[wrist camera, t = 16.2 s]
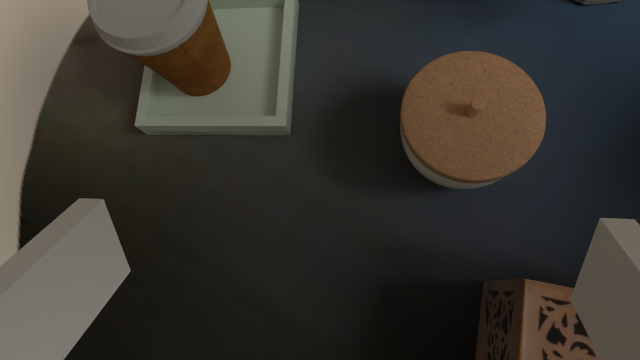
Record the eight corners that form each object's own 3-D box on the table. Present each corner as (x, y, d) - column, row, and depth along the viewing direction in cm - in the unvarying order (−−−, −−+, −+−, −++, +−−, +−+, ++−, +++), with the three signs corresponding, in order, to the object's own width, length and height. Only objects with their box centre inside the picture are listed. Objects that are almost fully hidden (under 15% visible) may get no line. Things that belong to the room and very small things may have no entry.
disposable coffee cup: (156, 37, 44) (82, -51, 33) (242, 21, 44) (197, -75, 32) (159, 118, 42) (79, 54, 30) (250, 102, 41) (204, 31, 30)
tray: (299, 4, 45) (295, -12, 42) (290, 135, 41) (285, 125, 38) (167, 9, 46) (156, -7, 44) (147, 134, 43) (134, 125, 40)
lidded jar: (479, 77, 40) (511, 16, 31) (533, 175, 37) (586, 140, 28) (376, 118, 40) (379, 69, 31) (422, 219, 37) (441, 197, 28)
